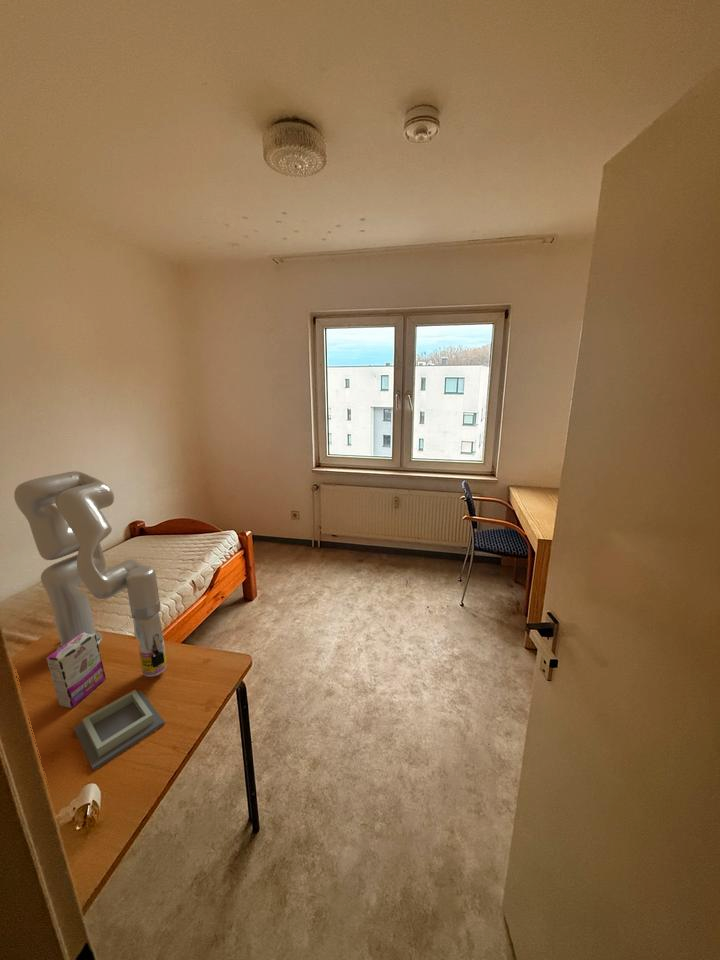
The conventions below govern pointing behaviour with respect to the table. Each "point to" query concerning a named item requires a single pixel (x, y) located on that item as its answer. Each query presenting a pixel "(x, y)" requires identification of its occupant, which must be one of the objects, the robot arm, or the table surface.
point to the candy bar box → (76, 669)
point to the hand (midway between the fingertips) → (153, 658)
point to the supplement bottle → (147, 662)
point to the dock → (117, 727)
